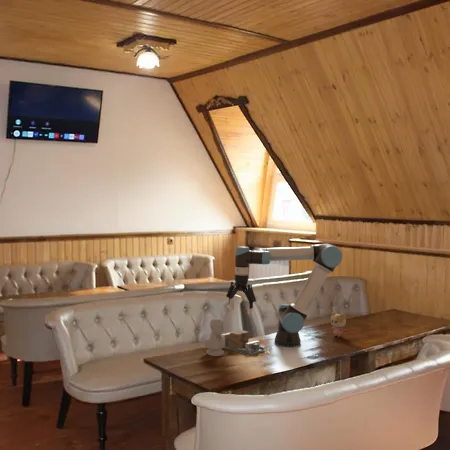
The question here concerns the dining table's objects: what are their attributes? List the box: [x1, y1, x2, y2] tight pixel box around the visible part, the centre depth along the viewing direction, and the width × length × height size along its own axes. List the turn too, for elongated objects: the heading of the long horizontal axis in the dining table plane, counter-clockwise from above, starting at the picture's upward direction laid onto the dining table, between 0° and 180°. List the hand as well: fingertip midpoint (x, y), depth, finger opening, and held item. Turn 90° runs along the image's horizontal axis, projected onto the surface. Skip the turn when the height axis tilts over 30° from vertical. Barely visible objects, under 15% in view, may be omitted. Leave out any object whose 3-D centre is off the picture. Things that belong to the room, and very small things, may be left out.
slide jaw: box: [245, 340, 261, 351], centre depth 322 cm, size 10×4×4 cm, turn 137°
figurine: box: [204, 317, 225, 357], centre depth 317 cm, size 9×13×20 cm
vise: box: [221, 332, 265, 356], centre depth 328 cm, size 12×22×7 cm, turn 47°
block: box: [229, 329, 250, 349], centre depth 329 cm, size 9×6×8 cm, turn 137°
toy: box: [330, 311, 347, 338], centre depth 364 cm, size 10×8×15 cm
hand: (240, 312), depth 328 cm, fingers open, 13 cm apart
